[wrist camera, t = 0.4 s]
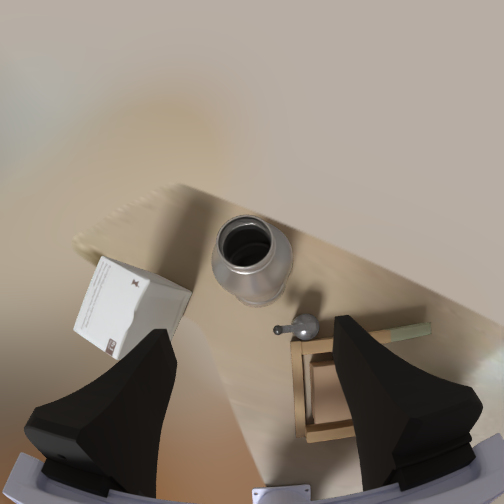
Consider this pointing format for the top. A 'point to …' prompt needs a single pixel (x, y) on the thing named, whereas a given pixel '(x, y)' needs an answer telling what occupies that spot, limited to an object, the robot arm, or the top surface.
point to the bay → (326, 345)
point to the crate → (327, 394)
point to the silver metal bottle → (252, 260)
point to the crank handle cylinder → (300, 327)
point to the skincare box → (128, 307)
